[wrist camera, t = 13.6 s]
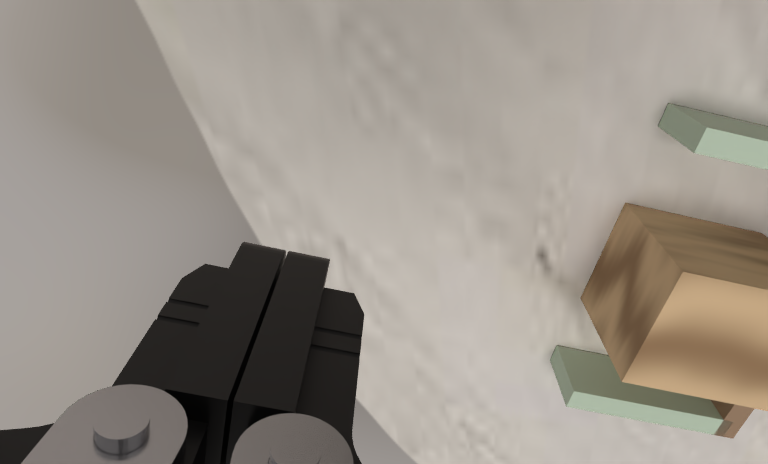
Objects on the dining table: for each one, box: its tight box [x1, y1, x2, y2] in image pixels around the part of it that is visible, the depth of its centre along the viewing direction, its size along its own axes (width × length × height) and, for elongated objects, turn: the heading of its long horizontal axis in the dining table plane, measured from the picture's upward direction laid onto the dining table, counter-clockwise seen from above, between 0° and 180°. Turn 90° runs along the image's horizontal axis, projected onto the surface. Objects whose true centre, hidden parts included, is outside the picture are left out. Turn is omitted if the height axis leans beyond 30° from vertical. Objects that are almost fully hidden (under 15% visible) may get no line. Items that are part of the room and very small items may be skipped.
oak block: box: [581, 203, 768, 411], centre depth 37 cm, size 8×10×9 cm
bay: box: [550, 103, 768, 438], centre depth 38 cm, size 21×13×5 cm, turn 168°
